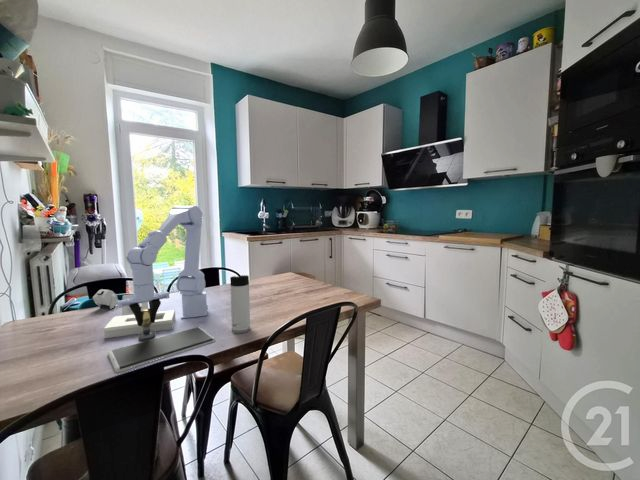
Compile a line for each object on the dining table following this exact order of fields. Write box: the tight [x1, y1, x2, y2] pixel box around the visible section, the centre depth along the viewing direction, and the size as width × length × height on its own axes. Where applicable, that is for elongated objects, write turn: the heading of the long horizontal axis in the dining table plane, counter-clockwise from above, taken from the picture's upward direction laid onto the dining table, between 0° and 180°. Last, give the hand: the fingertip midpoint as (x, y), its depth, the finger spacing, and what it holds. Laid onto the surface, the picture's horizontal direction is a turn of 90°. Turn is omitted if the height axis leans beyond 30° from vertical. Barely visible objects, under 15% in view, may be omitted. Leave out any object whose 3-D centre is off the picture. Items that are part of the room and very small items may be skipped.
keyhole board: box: [103, 309, 176, 339], centre depth 103 cm, size 20×11×4 cm, turn 111°
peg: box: [137, 308, 156, 342], centre depth 95 cm, size 5×5×10 cm
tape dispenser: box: [92, 288, 119, 310], centre depth 124 cm, size 6×7×10 cm
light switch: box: [121, 293, 149, 316], centre depth 115 cm, size 8×6×14 cm
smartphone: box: [107, 326, 216, 373], centre depth 89 cm, size 13×27×2 cm, turn 134°
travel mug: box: [229, 274, 251, 334], centre depth 101 cm, size 6×7×20 cm
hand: (146, 323), depth 95 cm, fingers closed on peg, 3 cm apart
